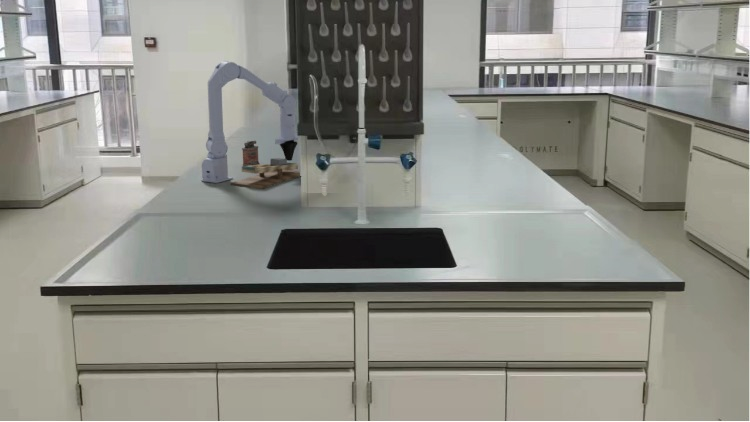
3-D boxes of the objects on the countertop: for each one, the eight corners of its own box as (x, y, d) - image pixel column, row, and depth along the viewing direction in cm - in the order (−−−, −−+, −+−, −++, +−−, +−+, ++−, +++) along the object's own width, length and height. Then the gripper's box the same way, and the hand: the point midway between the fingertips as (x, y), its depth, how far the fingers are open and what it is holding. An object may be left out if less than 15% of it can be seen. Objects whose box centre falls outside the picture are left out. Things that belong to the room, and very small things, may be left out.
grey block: (278, 167, 271) (279, 159, 271) (270, 166, 273) (270, 158, 273) (286, 166, 276) (286, 158, 275) (278, 165, 278) (278, 158, 277)
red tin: (246, 166, 296) (245, 142, 293) (240, 165, 298) (239, 141, 295) (260, 163, 302) (259, 140, 299) (255, 162, 304) (254, 139, 301)
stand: (261, 188, 255) (261, 176, 254) (230, 184, 262) (230, 173, 261) (308, 174, 281) (308, 163, 280) (279, 170, 287) (278, 159, 286)
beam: (256, 173, 257) (256, 167, 257) (241, 171, 260) (241, 165, 260) (298, 169, 280) (298, 163, 280) (283, 167, 284) (283, 162, 283)
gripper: (285, 128, 269) (286, 164, 272) (307, 123, 281) (307, 158, 284) (270, 127, 272) (271, 162, 275) (292, 122, 284) (293, 156, 288)
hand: (288, 160), depth 280 cm, fingers closed
